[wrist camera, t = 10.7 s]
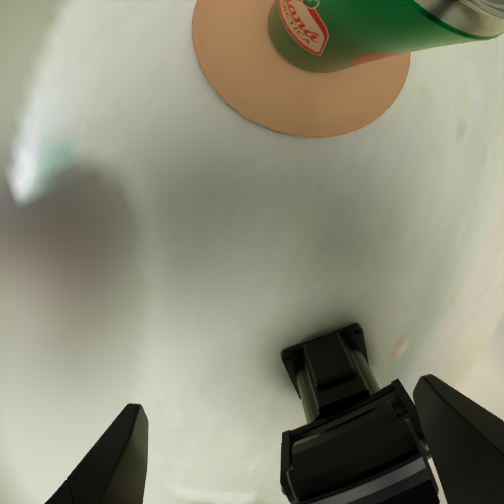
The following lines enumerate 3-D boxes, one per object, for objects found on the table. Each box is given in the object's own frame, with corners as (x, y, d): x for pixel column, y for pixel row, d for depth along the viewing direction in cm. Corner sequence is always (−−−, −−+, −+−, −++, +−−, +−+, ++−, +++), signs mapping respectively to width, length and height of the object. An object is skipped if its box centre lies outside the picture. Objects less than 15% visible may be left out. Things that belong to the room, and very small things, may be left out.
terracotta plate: (419, 108, 16) (433, 109, 15) (240, 164, 17) (241, 169, 16) (354, -54, 11) (363, -64, 10) (166, -15, 12) (161, -25, 11)
